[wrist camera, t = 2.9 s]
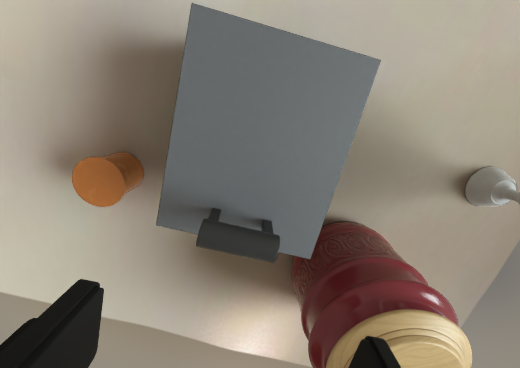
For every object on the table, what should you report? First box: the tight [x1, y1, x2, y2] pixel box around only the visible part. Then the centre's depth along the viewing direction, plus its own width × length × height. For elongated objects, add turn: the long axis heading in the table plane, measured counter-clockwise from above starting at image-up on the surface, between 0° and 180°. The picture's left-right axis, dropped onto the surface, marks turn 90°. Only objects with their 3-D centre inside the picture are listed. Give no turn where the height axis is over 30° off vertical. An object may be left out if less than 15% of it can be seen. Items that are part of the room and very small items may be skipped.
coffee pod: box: [72, 152, 144, 207], centre depth 26 cm, size 5×5×5 cm
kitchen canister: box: [292, 222, 472, 368], centre depth 24 cm, size 13×13×18 cm
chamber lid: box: [156, 3, 381, 263], centre depth 16 cm, size 15×13×5 cm
